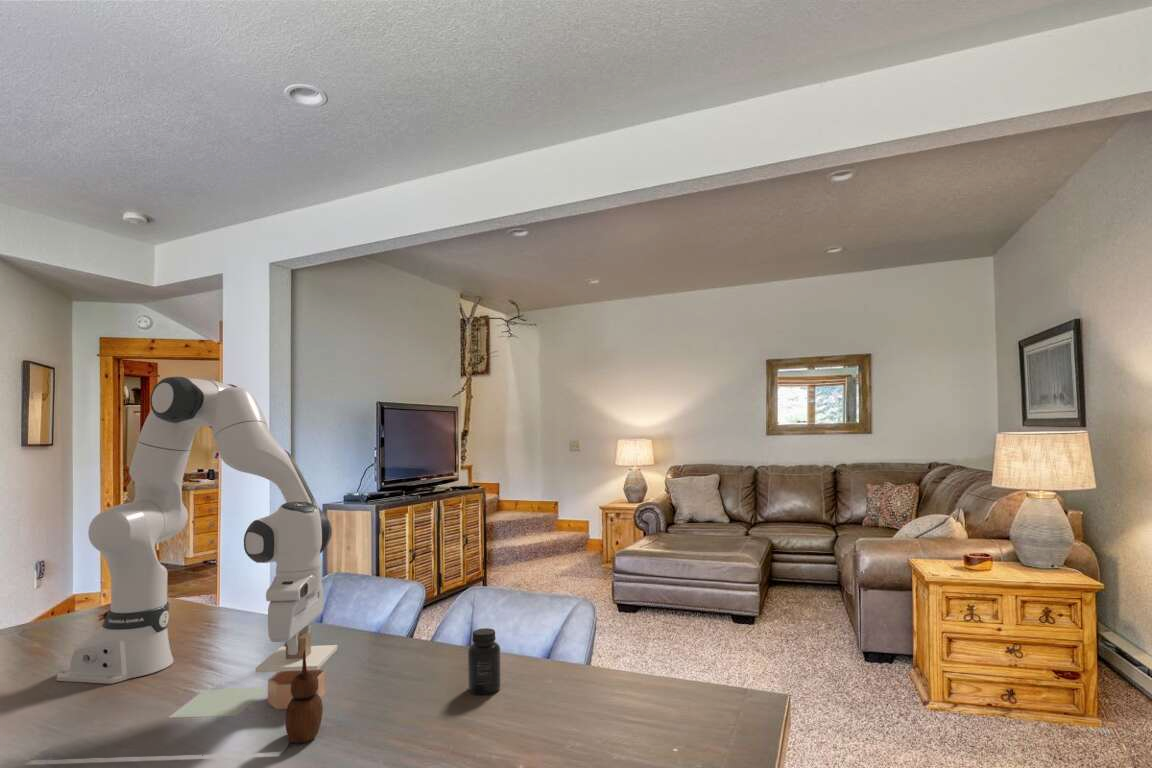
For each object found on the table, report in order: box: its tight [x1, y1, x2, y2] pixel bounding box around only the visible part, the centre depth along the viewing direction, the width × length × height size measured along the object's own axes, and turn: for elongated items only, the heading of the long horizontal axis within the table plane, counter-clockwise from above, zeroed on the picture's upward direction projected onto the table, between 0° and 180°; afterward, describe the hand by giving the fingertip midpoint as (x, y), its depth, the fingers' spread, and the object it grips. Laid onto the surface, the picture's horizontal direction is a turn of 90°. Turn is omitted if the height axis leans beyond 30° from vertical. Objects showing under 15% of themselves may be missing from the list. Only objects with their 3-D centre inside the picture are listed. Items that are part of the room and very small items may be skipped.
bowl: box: [267, 667, 327, 710], centre depth 132 cm, size 10×10×5 cm
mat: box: [168, 687, 267, 719], centre depth 131 cm, size 13×13×1 cm
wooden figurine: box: [284, 650, 324, 744], centre depth 117 cm, size 7×6×15 cm
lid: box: [255, 633, 338, 673], centre depth 133 cm, size 12×12×5 cm
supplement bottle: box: [467, 628, 502, 696], centre depth 137 cm, size 7×7×12 cm
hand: (298, 649), depth 133 cm, fingers closed on lid, 3 cm apart
